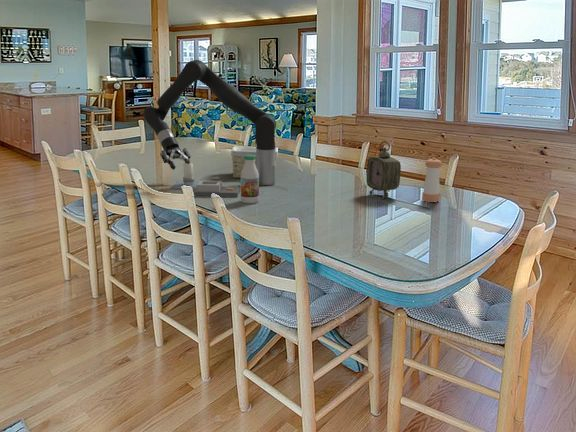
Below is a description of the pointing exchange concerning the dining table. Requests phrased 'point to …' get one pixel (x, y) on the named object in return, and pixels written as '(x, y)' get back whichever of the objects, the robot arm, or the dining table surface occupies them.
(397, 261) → the dining table surface
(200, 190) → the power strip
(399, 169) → the tabletop clock
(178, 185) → the slate pad
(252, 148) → the storage basket
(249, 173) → the milk bottle
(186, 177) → the plug
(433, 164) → the pepper shaker
